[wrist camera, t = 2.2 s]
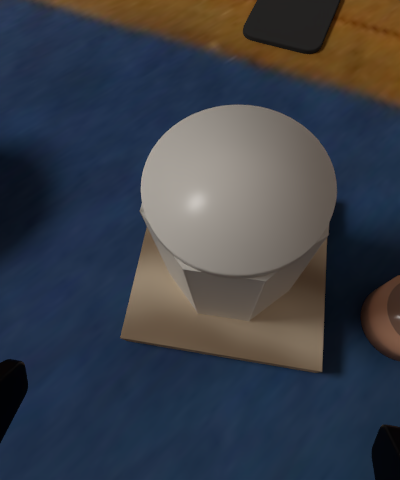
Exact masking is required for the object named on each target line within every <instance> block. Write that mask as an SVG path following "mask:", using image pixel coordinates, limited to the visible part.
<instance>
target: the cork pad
mask: <svg viewBox="0 0 400 480" xmlns="http://www.w3.org/2000/svg"><path fill="white" fill-rule="evenodd" d="M326 254H327V238H326V240H325V241H324V242H323V244H322V245H321V247H320V248H319V249H318V251H317V252H316V254H315V255H314V256H313V258H312V259H311V261H310V262H309V264H308V265H307V266H306V268H305V269H304V271H303V272H302V273H301V275H300V276H299V278H298V279H297V280H296V282H295V283H294V285H293V286H292V287H291V289H290V290H289V291H288V292H287V293H285V294H284V295H283V296H281V297H280V298H279V299H278V300H276V301H275V302H274V303H272V304H271V305H270V306H268V307H267V308H266V309H264V310H263V311H262V312H260V313H259V314H258V315H256V316H255V317H254V318H252V319H251V320H250V321H244V320H238V319H232V318H225V317H219V316H212V315H206V314H200V313H197V311H196V310H195V309H194V307H193V306H192V304H191V303H190V302H189V300H188V299H187V297H186V296H185V295H184V293H183V292H182V290H181V289H180V288H179V286H178V285H177V283H176V282H175V281H174V279H173V278H172V276H171V275H170V274H169V272H168V270H167V268H166V266H165V263H164V261H163V259H162V257H161V255H160V253H159V251H158V249H157V247H156V244H155V242H154V240H153V238H152V236H151V234H150V232H149V230H148V227H147V229H146V233H145V237H144V241H143V245H142V250H141V254H140V258H139V262H138V266H137V270H136V274H135V279H134V283H133V287H132V291H131V295H130V299H129V304H128V308H127V312H126V316H125V320H124V324H123V328H122V333H121V337H120V338H122V339H124V340H126V341H131V342H137V343H143V344H149V345H155V346H161V347H167V348H173V349H178V350H184V351H190V352H196V353H202V354H208V355H214V356H220V357H226V358H231V359H237V360H243V361H249V362H255V363H261V364H267V365H273V366H279V367H285V368H290V369H296V370H302V371H308V372H314V373H318V372H322V360H323V334H324V307H325V281H326Z"/></svg>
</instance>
